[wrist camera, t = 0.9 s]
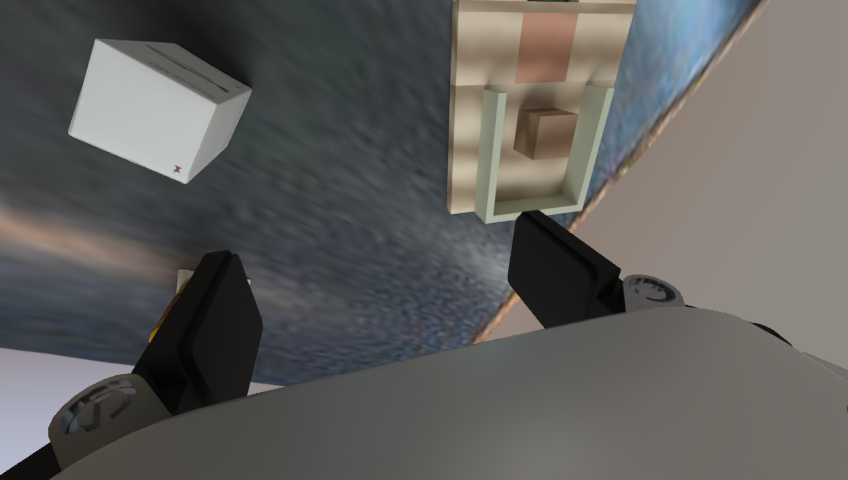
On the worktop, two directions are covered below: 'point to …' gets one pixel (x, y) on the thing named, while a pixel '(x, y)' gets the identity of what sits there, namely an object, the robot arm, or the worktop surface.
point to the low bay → (578, 163)
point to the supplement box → (157, 106)
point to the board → (525, 81)
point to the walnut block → (545, 133)
